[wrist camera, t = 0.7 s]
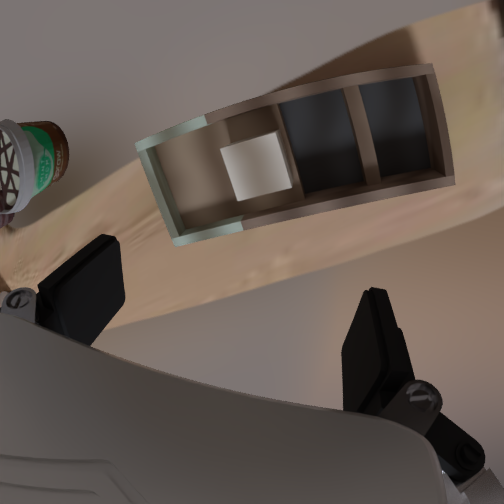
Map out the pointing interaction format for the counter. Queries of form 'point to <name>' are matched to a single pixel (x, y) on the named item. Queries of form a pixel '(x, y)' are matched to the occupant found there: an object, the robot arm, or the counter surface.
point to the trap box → (305, 151)
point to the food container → (30, 160)
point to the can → (4, 219)
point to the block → (258, 165)
